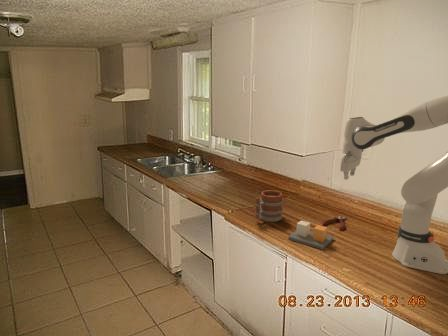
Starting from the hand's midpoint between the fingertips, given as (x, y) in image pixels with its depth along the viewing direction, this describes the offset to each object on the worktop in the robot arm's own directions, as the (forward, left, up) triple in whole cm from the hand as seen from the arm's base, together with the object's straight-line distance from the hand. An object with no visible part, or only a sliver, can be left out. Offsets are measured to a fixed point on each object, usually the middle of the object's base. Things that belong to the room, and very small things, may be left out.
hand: (349, 177), depth 168 cm
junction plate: (+11, +16, -31) cm, 37 cm away
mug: (+42, +6, -31) cm, 53 cm away
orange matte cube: (+6, +16, -30) cm, 34 cm away
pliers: (+6, -13, -32) cm, 35 cm away
